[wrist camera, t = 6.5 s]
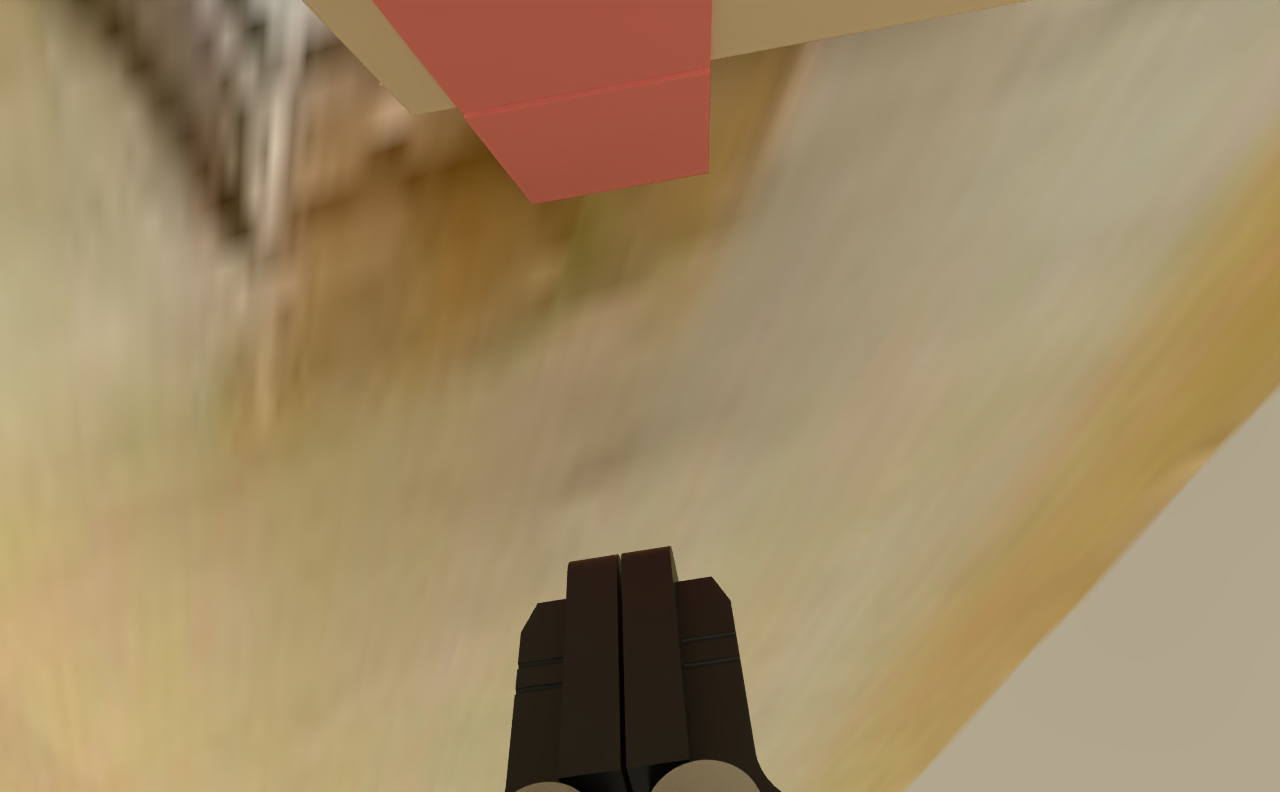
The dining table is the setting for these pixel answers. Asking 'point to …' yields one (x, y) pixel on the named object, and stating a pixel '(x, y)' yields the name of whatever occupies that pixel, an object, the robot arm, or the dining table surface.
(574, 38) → the flap
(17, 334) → the dining table surface
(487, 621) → the dining table surface
